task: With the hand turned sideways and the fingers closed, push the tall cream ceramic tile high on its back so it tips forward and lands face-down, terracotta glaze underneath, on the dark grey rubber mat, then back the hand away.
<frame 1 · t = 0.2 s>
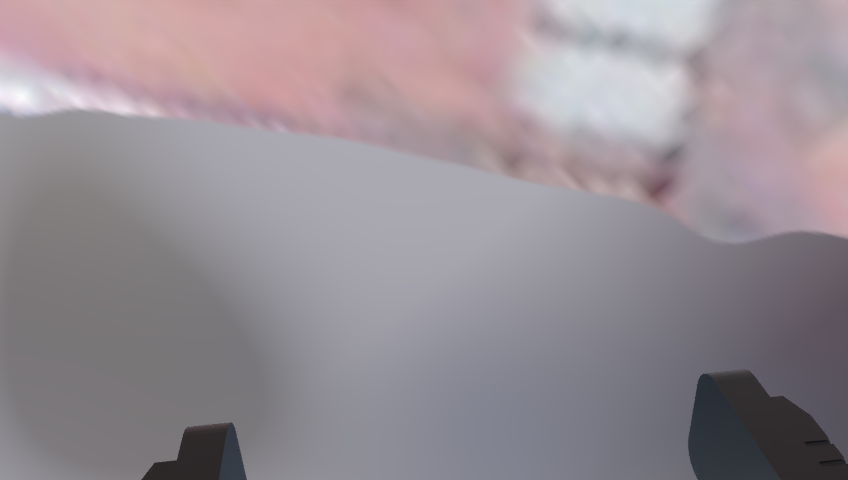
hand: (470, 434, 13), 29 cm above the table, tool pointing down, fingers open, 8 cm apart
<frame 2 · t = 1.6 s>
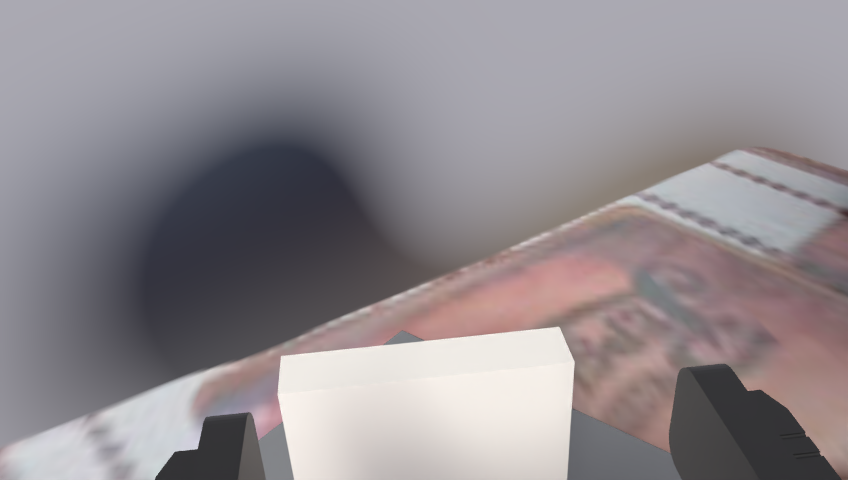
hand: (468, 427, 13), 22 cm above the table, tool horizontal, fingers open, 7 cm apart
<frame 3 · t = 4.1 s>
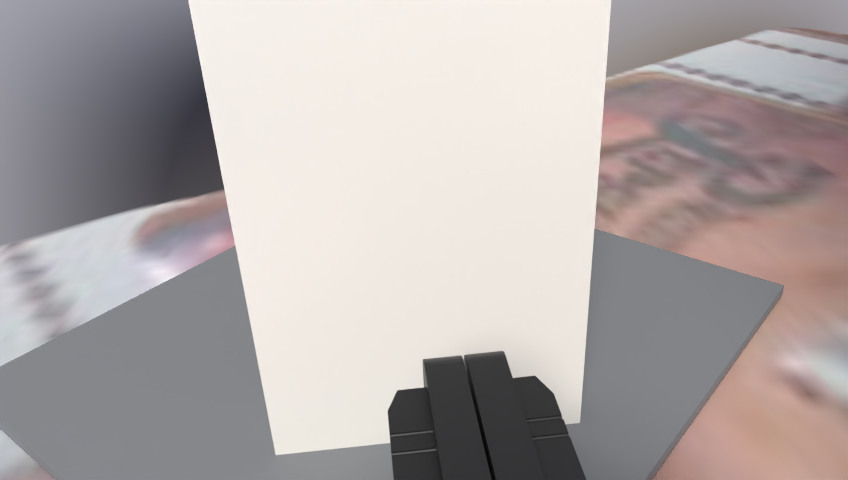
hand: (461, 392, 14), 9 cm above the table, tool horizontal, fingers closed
mat: (396, 343, 30), on the table
tile: (426, 417, 26), resting on mat
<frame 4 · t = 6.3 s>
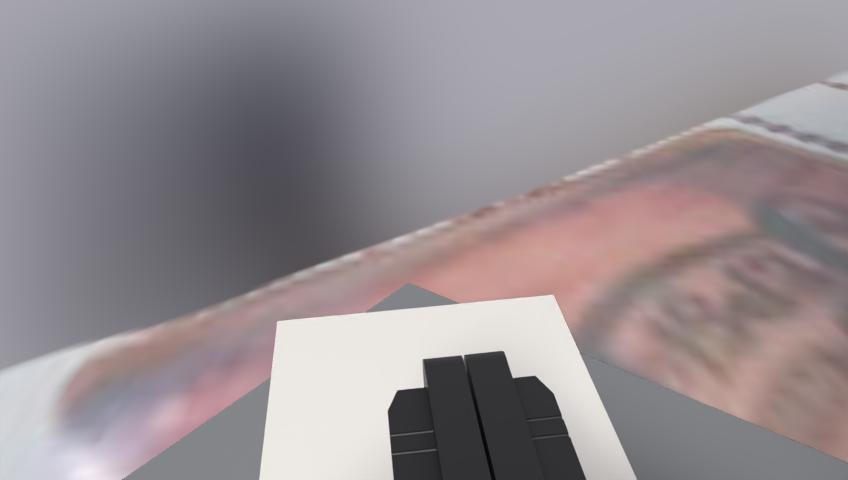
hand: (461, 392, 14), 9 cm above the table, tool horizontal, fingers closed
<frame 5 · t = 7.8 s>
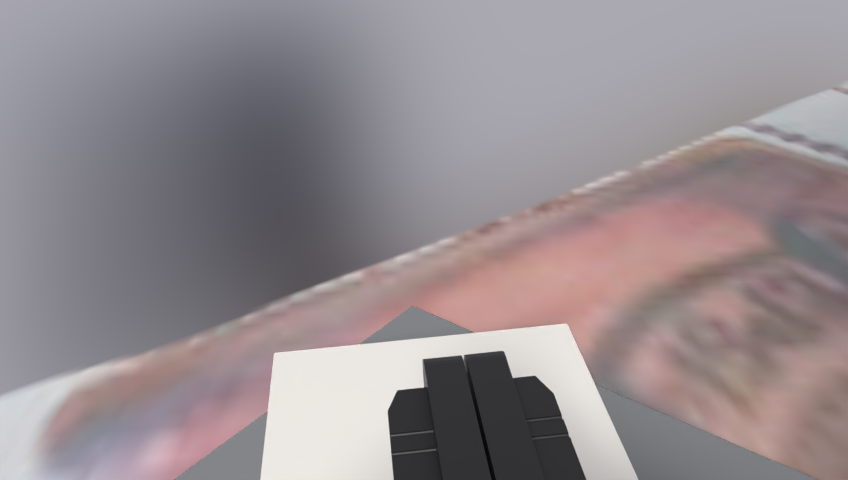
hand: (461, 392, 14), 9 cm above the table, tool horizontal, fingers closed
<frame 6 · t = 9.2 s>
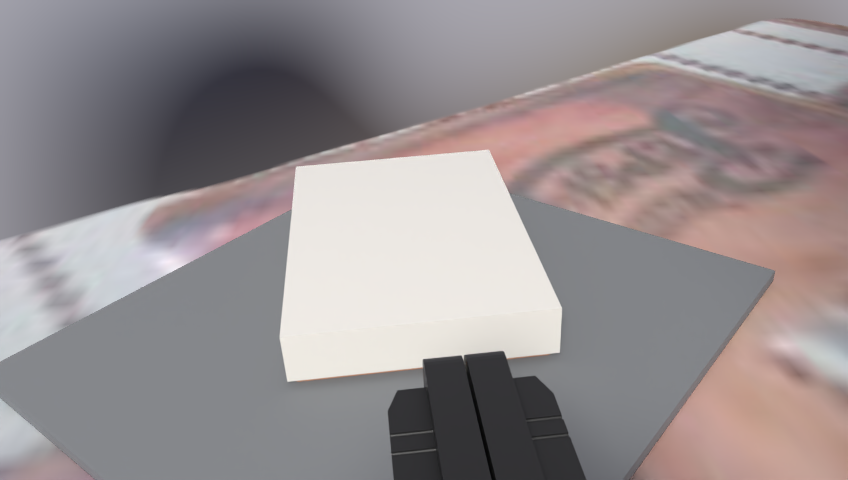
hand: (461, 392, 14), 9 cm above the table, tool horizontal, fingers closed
mat: (399, 329, 31), on the table
tile: (423, 345, 27), point 2 cm above the table, tilted 90°, touching mat
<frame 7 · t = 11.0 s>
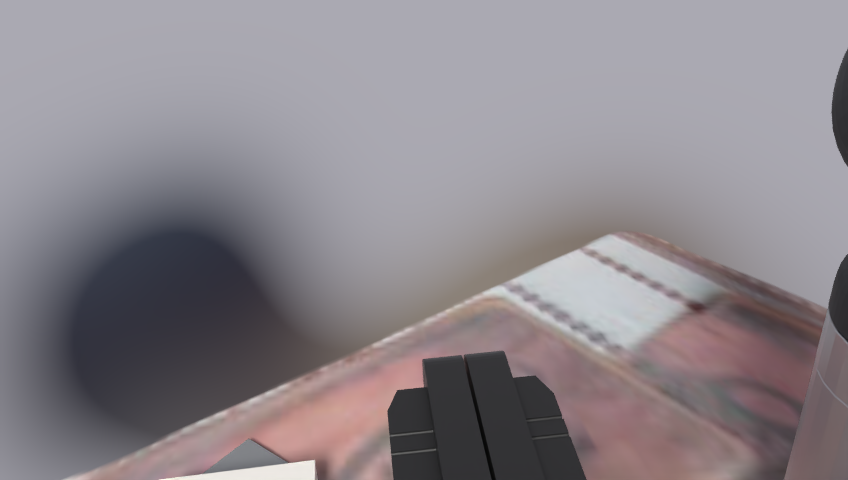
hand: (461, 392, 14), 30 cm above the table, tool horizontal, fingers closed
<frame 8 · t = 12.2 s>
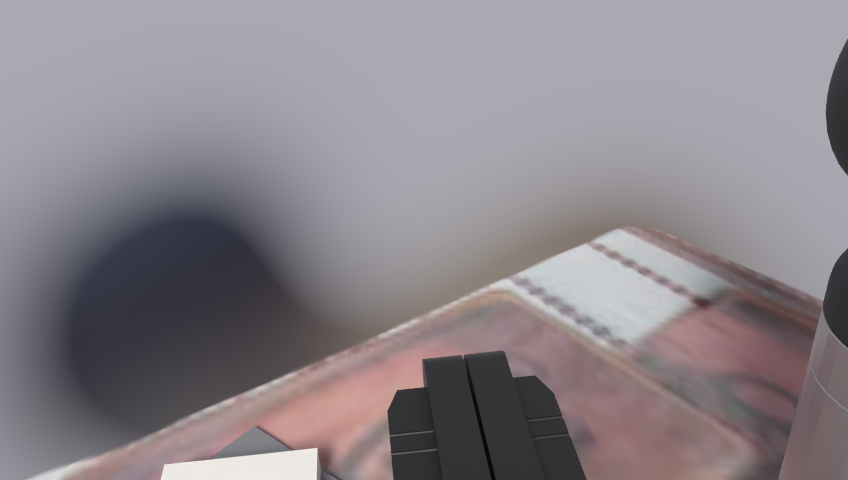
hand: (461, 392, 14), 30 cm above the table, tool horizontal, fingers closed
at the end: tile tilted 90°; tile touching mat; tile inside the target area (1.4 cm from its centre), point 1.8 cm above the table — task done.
